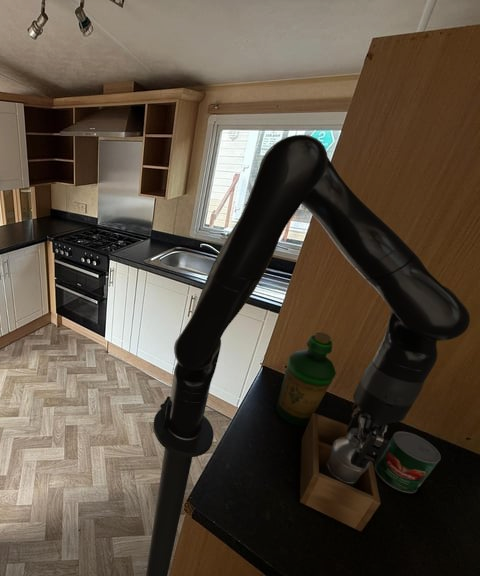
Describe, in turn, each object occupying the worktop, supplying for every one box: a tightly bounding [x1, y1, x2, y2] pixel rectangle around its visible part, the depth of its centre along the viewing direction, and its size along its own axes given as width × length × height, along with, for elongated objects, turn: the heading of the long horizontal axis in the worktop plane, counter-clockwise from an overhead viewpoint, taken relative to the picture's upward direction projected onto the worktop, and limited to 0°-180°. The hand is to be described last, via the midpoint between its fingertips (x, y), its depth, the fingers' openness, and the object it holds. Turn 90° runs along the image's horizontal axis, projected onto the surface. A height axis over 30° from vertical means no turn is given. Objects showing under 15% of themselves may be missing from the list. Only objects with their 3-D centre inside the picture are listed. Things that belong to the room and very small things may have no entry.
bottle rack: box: [299, 412, 382, 532], centre depth 72 cm, size 11×19×10 cm, turn 148°
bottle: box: [276, 332, 337, 427], centre depth 85 cm, size 11×11×28 cm
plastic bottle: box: [320, 428, 371, 487], centre depth 66 cm, size 6×7×20 cm
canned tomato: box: [374, 430, 442, 494], centre depth 72 cm, size 8×8×11 cm
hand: (354, 448), depth 64 cm, fingers open, 8 cm apart
